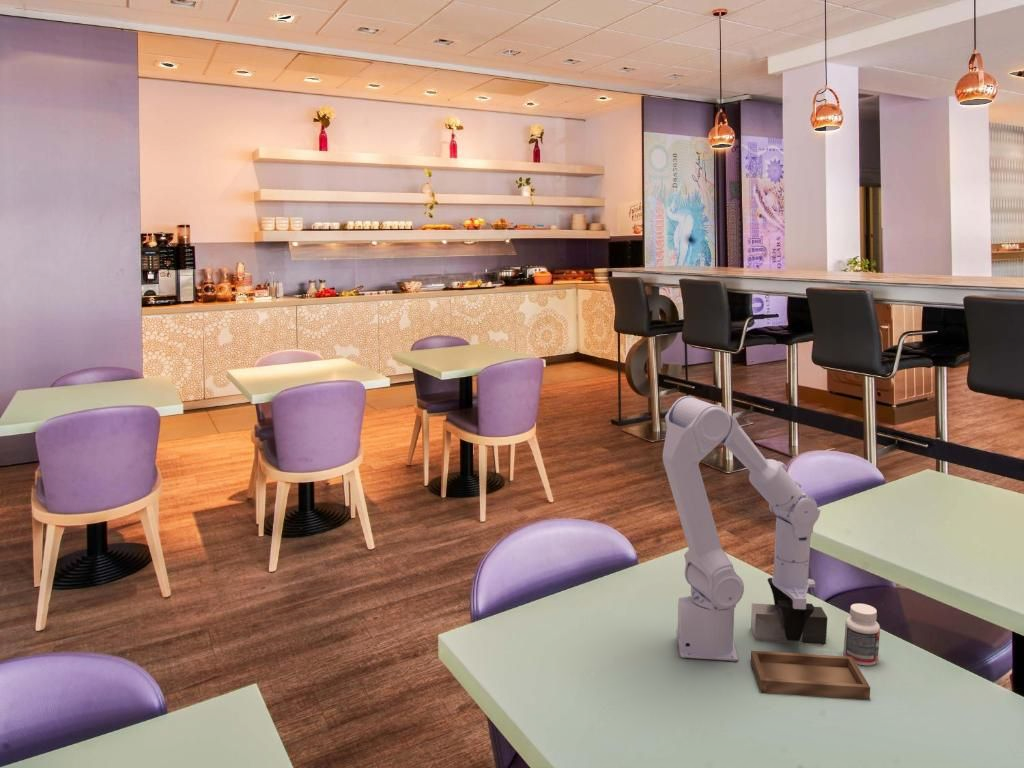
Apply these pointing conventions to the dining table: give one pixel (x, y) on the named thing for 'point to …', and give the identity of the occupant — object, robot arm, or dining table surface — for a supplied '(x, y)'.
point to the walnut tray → (809, 675)
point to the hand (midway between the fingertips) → (787, 629)
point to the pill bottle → (862, 635)
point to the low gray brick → (771, 625)
